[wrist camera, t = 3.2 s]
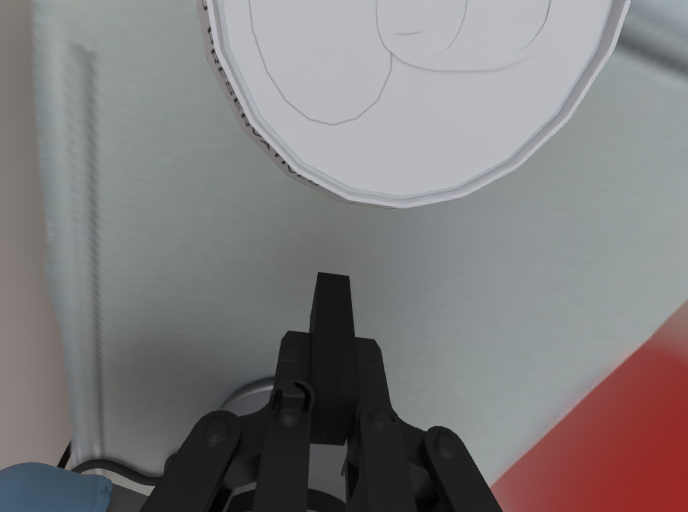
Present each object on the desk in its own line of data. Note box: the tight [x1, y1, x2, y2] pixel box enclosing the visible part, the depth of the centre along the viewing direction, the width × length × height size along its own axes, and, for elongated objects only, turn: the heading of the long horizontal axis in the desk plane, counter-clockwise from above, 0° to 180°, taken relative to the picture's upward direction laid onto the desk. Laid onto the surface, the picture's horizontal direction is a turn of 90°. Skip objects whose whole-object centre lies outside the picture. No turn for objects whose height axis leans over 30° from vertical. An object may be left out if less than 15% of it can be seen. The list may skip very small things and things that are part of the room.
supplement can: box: [197, 0, 631, 209], centre depth 12 cm, size 8×8×15 cm
